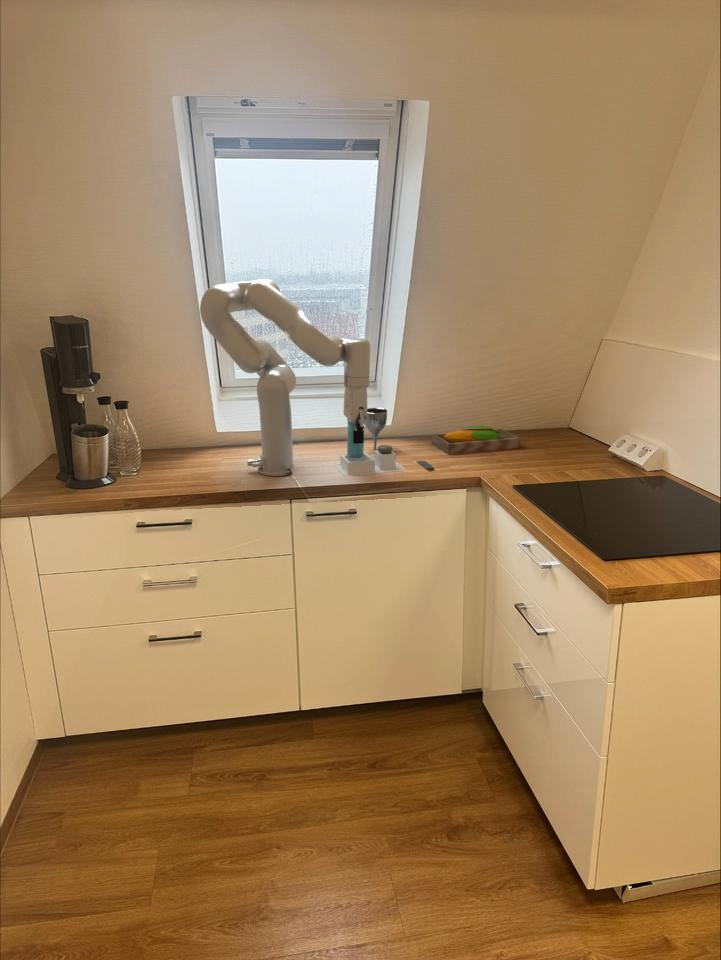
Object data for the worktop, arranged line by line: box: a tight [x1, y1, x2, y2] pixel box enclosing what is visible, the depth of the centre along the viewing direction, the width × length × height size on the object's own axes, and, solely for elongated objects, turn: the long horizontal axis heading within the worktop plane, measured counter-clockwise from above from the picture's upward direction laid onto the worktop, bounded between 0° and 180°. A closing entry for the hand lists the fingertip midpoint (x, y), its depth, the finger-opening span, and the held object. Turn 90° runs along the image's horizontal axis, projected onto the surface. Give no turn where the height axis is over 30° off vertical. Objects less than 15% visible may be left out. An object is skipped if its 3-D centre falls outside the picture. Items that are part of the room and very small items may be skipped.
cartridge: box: [346, 417, 365, 458], centre depth 203 cm, size 5×5×12 cm
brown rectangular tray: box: [431, 428, 522, 455], centre depth 236 cm, size 27×14×4 cm, turn 107°
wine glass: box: [364, 407, 388, 451], centre depth 225 cm, size 8×8×15 cm
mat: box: [414, 460, 435, 471], centre depth 212 cm, size 8×8×1 cm
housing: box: [333, 450, 407, 477], centre depth 207 cm, size 20×12×6 cm, turn 107°
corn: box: [444, 425, 501, 443], centre depth 235 cm, size 7×8×20 cm
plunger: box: [377, 444, 393, 454], centre depth 208 cm, size 4×4×6 cm
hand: (355, 440), depth 204 cm, fingers closed on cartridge, 5 cm apart
